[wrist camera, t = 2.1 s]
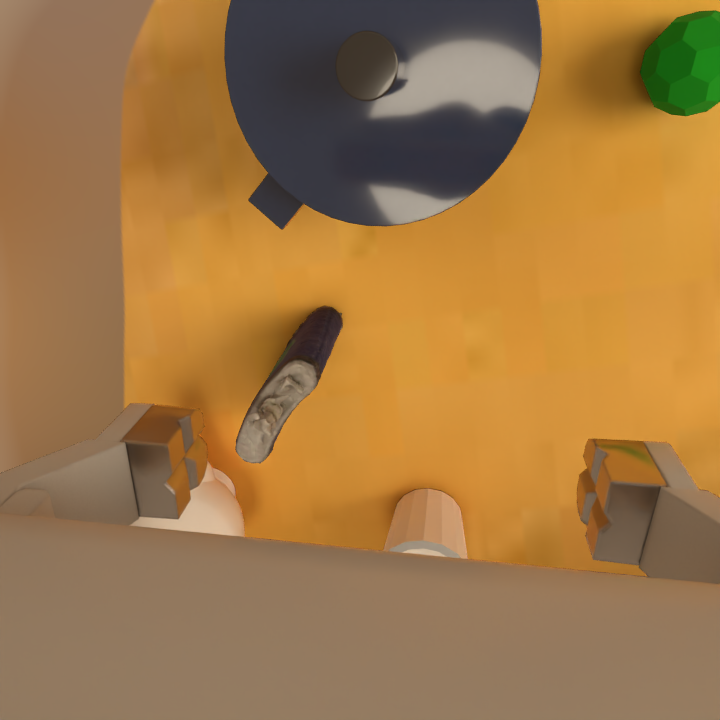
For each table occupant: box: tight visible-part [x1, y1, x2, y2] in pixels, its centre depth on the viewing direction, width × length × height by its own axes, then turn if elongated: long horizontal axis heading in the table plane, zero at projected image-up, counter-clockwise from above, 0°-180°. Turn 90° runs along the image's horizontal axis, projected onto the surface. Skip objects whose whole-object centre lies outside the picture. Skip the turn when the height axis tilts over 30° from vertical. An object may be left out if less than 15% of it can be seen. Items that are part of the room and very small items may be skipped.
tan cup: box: [383, 488, 468, 559], centre depth 47 cm, size 7×7×7 cm
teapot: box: [129, 460, 245, 537], centre depth 49 cm, size 10×20×9 cm, turn 2°
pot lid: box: [225, 0, 542, 226], centre depth 26 cm, size 15×15×5 cm
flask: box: [236, 306, 343, 463], centre depth 41 cm, size 9×3×11 cm, turn 148°
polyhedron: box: [640, 11, 720, 116], centre depth 32 cm, size 5×5×5 cm
